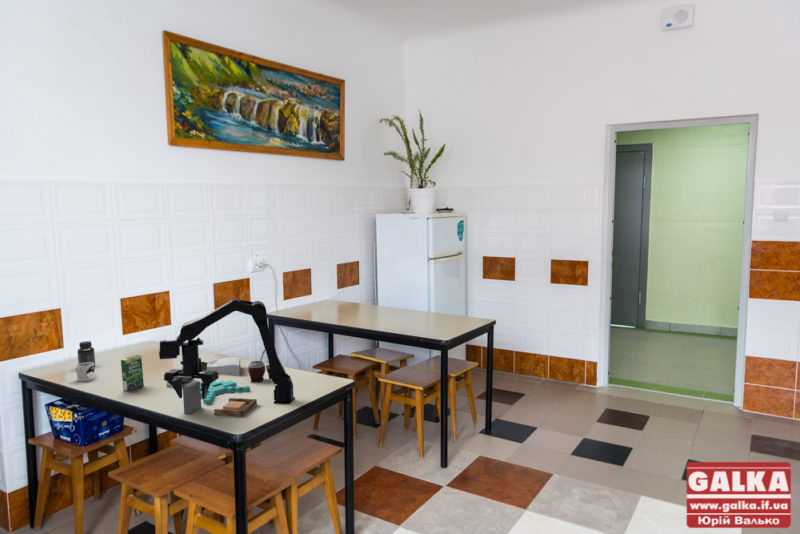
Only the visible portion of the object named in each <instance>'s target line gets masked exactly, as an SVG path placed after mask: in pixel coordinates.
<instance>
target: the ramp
mask: <svg viewBox="0 0 800 534" xmlns="http://www.w3.org/2000/svg"><path fill="white" fill-rule="evenodd" d="M240 357H241V356H232V357H224V358H218V359H212V360H208V361H207V360H206V362H207V370H206V371H202V372H201V373H205V372H207V371H217V372H218V374H219V375H223V376H224V375H226V376H235V377H236V376H237V377H240V374H241V358H240Z"/></svg>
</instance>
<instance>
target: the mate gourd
mask: <svg viewBox="0 0 800 534" xmlns="http://www.w3.org/2000/svg"><path fill="white" fill-rule="evenodd" d="M264 354H266V350H265V349H264V350H263V351H262V353H261V357H260V360H253V361H251V362H250V363H249V365H248V367H247V368H248V369H247V371H248V375H249V378H250V384H251V383H256V382H258V383H262V382H263V381H264V380H265V378H264V375H265V373H266V365H265V363H264V362H263V361H262V360H263V357H264ZM262 380H263V381H262Z"/></svg>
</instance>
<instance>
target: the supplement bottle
mask: <svg viewBox="0 0 800 534" xmlns="http://www.w3.org/2000/svg"><path fill="white" fill-rule="evenodd" d="M92 346H93V344H92V341H85V340H84V341H81V342H79V349H77V362H78V364H80V363H86V362H92V363H94V368H96V356H95V348H94V347H92Z"/></svg>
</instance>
